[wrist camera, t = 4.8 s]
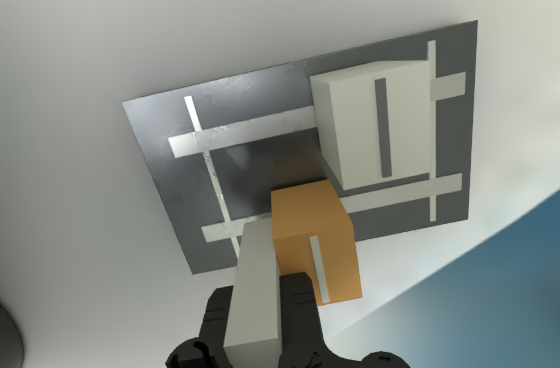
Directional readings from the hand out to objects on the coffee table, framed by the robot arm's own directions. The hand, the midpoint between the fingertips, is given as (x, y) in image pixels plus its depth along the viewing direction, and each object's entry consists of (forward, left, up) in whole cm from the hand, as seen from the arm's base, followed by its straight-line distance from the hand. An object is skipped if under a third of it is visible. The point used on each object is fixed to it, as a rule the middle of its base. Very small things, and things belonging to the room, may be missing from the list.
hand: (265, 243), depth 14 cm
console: (+3, +3, -3) cm, 5 cm away
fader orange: (+2, 0, -2) cm, 3 cm away
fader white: (+5, +5, -2) cm, 7 cm away
